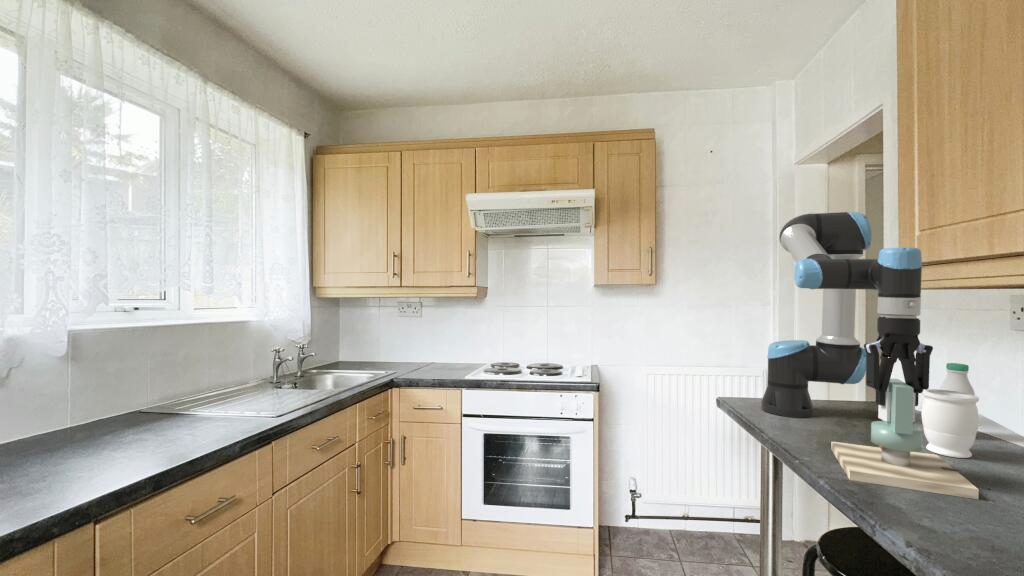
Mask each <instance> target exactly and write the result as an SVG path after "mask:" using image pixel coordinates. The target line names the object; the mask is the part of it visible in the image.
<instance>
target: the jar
mask: <svg viewBox="0 0 1024 576" xmlns="http://www.w3.org/2000/svg"><path fill="white" fill-rule="evenodd" d="M921 394H922V396H924V398H923V401H922V406H921V412H920V414H921V422H922V427H923V433H924V436H925V438H926V440H927V442H928V443H927V445H926V447H925V448H926V449H927V451H930V452H931V453H934V454H936V455H941V456H945V457H951V458H958V459H967V458H971V457H972V456H973V454H972V452H971V451H970V449H971V448H973V447H972V446H974V444H975V442H976V437H977V433H978V431H979V430H978V429H979V422H980V421H979V420H980V419H979V410H978V407H977V403H978V402H979V401H980V397H979V396H977V395H976V394H975V395H972V394H968V393H962V392H957V391H949V390H939V389H933V388H932V389H931V388H928V389H927V390H925V389H924V390H923V392H922V393H921Z"/></svg>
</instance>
